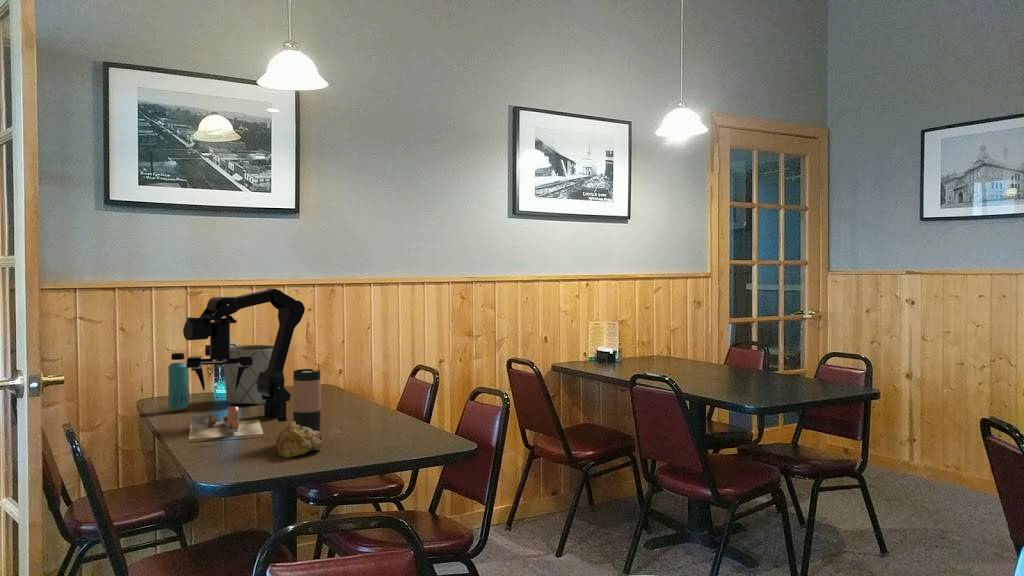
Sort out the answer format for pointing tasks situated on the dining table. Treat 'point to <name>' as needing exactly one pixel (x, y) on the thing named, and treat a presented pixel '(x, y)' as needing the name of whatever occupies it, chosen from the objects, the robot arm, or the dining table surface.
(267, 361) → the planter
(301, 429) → the rock
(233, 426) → the lever
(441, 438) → the dining table surface
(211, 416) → the walnut
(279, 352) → the robot arm
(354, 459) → the dining table surface
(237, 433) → the base
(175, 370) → the beverage bottle
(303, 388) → the travel mug
